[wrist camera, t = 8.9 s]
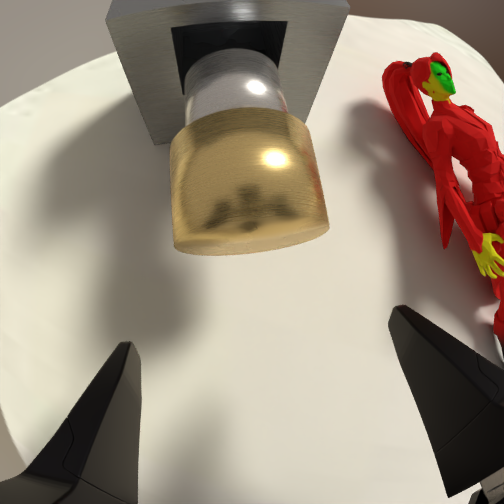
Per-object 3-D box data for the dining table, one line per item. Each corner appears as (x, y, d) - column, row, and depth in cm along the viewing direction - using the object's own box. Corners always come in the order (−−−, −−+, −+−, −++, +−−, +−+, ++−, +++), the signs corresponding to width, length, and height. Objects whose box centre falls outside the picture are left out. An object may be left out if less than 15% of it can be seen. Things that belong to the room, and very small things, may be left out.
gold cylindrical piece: (308, 246, 15) (353, 209, 9) (185, 260, 15) (157, 228, 9) (283, 112, 17) (303, 37, 11) (178, 120, 16) (160, 45, 10)
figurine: (526, 413, 14) (377, 33, 13) (465, 389, 23) (328, 97, 22) (576, 324, 16) (462, 25, 15) (521, 317, 25) (413, 69, 24)
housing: (301, 131, 22) (350, 7, 10) (154, 144, 21) (105, 20, 9) (285, 67, 23) (312, -47, 12) (157, 77, 22) (128, -37, 11)
